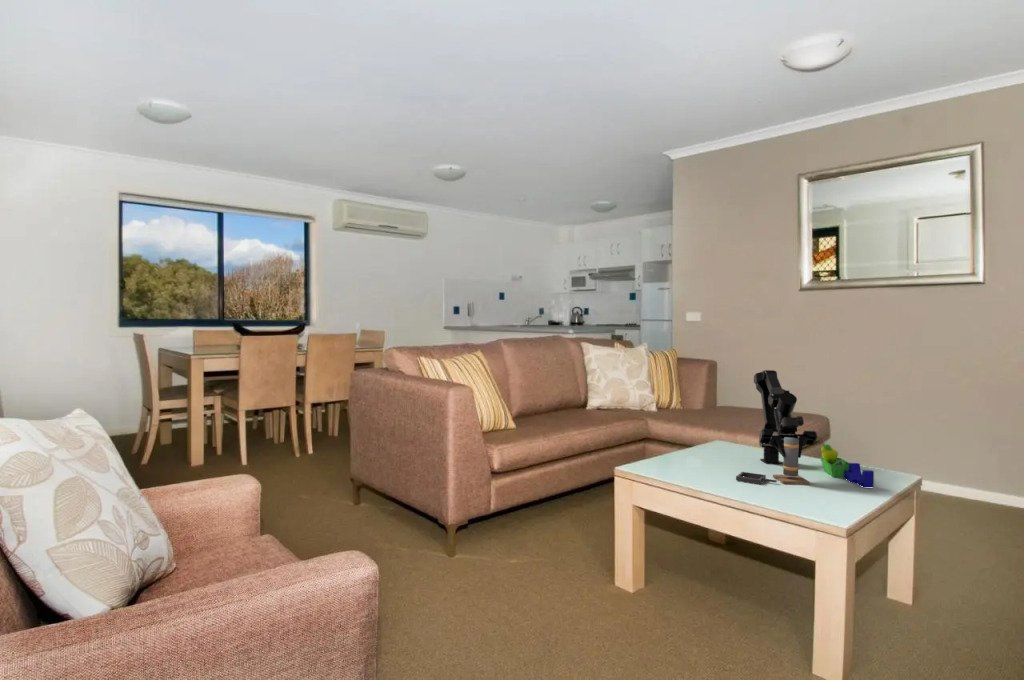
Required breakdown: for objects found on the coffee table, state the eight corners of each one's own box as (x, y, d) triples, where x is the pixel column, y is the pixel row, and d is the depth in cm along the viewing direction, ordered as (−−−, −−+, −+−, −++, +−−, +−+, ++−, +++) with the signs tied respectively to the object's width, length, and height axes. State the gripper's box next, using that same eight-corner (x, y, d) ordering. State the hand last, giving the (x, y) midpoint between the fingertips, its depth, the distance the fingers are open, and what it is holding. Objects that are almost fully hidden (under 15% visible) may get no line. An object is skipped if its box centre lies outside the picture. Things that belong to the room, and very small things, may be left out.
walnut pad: (772, 477, 213) (772, 474, 213) (797, 477, 212) (797, 474, 212) (783, 484, 204) (783, 481, 204) (809, 484, 203) (809, 481, 203)
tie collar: (742, 475, 214) (742, 471, 214) (778, 481, 207) (778, 477, 207) (736, 480, 208) (736, 476, 208) (773, 486, 200) (773, 482, 200)
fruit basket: (853, 479, 211) (853, 448, 210) (826, 478, 212) (827, 447, 212) (840, 471, 222) (840, 441, 222) (815, 470, 223) (816, 441, 223)
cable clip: (844, 479, 211) (844, 462, 211) (857, 479, 211) (858, 463, 210) (859, 488, 199) (859, 471, 199) (873, 488, 199) (873, 471, 198)
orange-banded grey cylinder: (780, 473, 209) (780, 437, 209) (790, 472, 211) (790, 436, 211) (791, 476, 205) (791, 440, 204) (801, 475, 207) (802, 439, 206)
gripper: (761, 407, 213) (768, 443, 203) (816, 408, 209) (826, 445, 199) (756, 424, 221) (762, 460, 211) (809, 426, 217) (818, 462, 207)
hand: (792, 457), depth 207 cm, fingers closed on orange-banded grey cylinder, 5 cm apart
